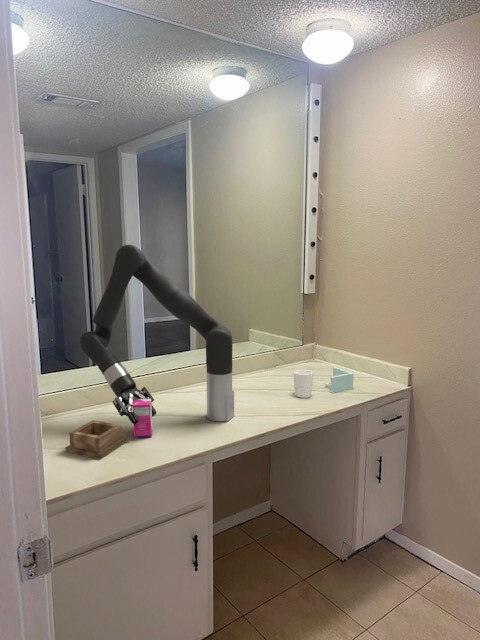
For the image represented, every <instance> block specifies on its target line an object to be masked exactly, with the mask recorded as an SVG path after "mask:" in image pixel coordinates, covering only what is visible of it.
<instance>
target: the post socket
mask: <svg viewBox="0 0 480 640" xmlns="http://www.w3.org/2000/svg"><path fill="white" fill-rule="evenodd" d="M122 433H123V432H122V425H121V424H116V423H111V422H105V421H99V420H93V419H92V420H91V421H88V422H87V423H85V424H83V425H81V426H79V427H78V428H76V429H74V430H72V431H70V432H69V445H67V446H65V447H64V448H65V449H64V451H65V453H68V454H73V455H78V456H83V457H88V458H93V459H96V460H102V459H104V458H105V457H107V456H108V455H110V454H112V453H113V452H114V451H116V450H117V449H119V448H120V447H121V446H123V445H125V444H126V443H127V437H123V435H122Z"/></svg>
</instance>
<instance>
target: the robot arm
mask: <svg viewBox="0 0 480 640" xmlns="http://www.w3.org/2000/svg"><path fill="white" fill-rule="evenodd" d="M133 277H134V278H135V279H136V280H138V281H139V282H140V283H142V284H143V285H144V286H145V287H146V288H147V289H148V291H149V292H150V293H151V294H152V296H153V298H155V300H157V301H158V302H159V304H160V305H161V306H162V307H163V308H164V309H166V310H167V311H168V312H169V313H170V314H171V315H172V316H174V317H175V318H176V319H178V320H179V321H182V322H183V323H185V324H186V325H188V326H190V327H191V328H193V329H194V330H196V332H198V334H200V335H201V337H202V338H203V339H204V340H205V366H206V418H207V420H210V421H213V422H229V421H230V420H231V419H232V418H234V417H235V391H234V390H233V334H232V332H231V331H230V329H229V328H227V327H226V326H225V325H223V323H220V322H219V321H217V320H216V319H215V318H214V317H212V316H211V315H210V314H208V313H207V311H206V310H205V309H204V308H203V307H202V306H201V305H200V304H199V303H198V302H197V301H196V299H194V298H193V297H192V296H191V295H190V294H189V293H188V292H187V291H186V290H185V289H184V288H183V287H181V286H180V284H178V283H176V281H174V280H173V279H171V278H170V277H169V276H168V275H166V274H165V273H163V272H161V270H159V269H158V268H157V267H156V266H155V265H154V264H153V263H152V262H151V261H150V259H148V257H147V256H146V255H145V254H144V252H143V251H142V250H141V249H140V248H139V247H137V246H136V245H132V244H124V245H122V246H121V247H119V249H118V250H117V251H116V254H115V259H114V262H113V267H112V271H111V273H110V277H109V281H108V282H107V285H106V288H105V290H104V291H103V294H102V297H101V299H100V300H99V304H98V305H97V308H96V310H95V312H94V315H93V317H92V322H93V324H94V325H95V328H94V331H85V332H84V333H82V334H81V336H79V347H80V348H81V350H82V352H83V353H84V354H85V355H86V356H87V357H88V358H89V359H90V360H91V361H92V362H93V363H94V364H95V365H96V366H97V368H98V369H99V371H100V372H101V374H102V375H103V377H104V379H105V381H106V383H107V384H108V386H109V387H110V388H111V390H112V392H113V394H115V398H114V399H113V400H112V404H113V406H114V407H115V409H116V410H117V412H118V414H119V415H120V417H123V416H125V417H127V418H128V419H129V421H130V423H132V424H134V425H135V424H137V423H138V422H139V420H138V418H137V417H136V415H135V414H134V412H133V408H132V405H133V402H134V401H136V400H138V399H151V405H152V418H153V417H154V416H156V415H157V410H156V409H155V407H154V405H153V402H154V401H155V398H154V397H153V396H152V394H151V393H150V392H149V391H148V389H147V388H146V387H145V386H143V387H142V388H141V389H138V388H137V383H136V381H135V380H134V378H133V377H132V376H131V374H130V373H129V372H128V370H127V368H126V367H125V366H124V365H123V364H122V362H121V361H120V359H119V358H118V357H117V354H115V353H114V352H113V351H112V350H108V346H109V344H110V342H111V337H112V331H113V325H114V324H115V323H114V322H115V321H116V318H117V316H118V314H119V311H120V308H121V307H122V306H121V305H122V304H123V299H124V296H125V294H126V290H127V287H128V285H129V283H130V281H131V279H132V278H133ZM134 425H133V426H134Z"/></svg>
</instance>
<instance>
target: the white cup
mask: <svg viewBox="0 0 480 640" xmlns="http://www.w3.org/2000/svg"><path fill="white" fill-rule="evenodd" d="M313 378H314V371H312V370H309V369H296V370H294V372H293V379H294V380H293V383H294V386H293V387H294V396H295V397H296V398H303V399H306V398H310V397H312V390H313V384H314V383H313V381H314V379H313Z"/></svg>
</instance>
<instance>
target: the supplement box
mask: <svg viewBox="0 0 480 640" xmlns="http://www.w3.org/2000/svg"><path fill="white" fill-rule="evenodd" d="M152 406H153V404H152V405H151V399H149V398H148V399H138V400H136V401H134V402H133V405H132V412H134V414H135V415H136V417H137V418H138V420H139V422H138V423H137V424H135V425H134V424H133V423H132V424H133V425H132V426H133V438H134V439H140V438H141V439H144V438H146V439H147V438H152V437H153V432H154V427H153V417H152Z"/></svg>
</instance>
